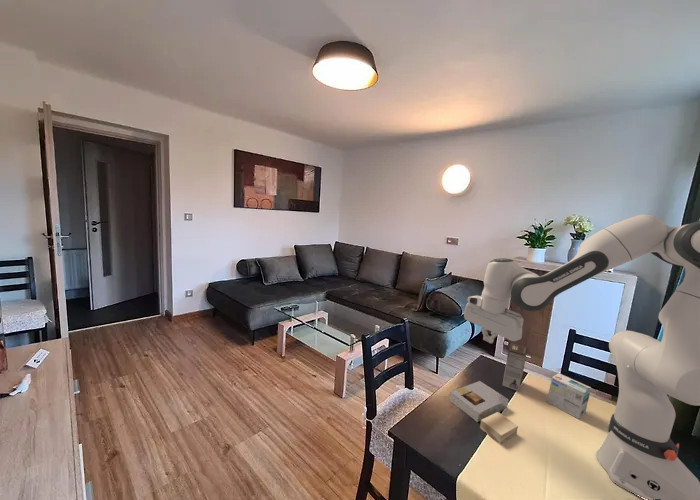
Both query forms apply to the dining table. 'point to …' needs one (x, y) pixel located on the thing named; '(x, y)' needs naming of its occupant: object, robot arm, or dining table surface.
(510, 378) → the coffee box
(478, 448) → the dining table surface
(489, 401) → the plate
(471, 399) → the walnut block
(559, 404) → the light bulb box
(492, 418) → the beige rectangular block
